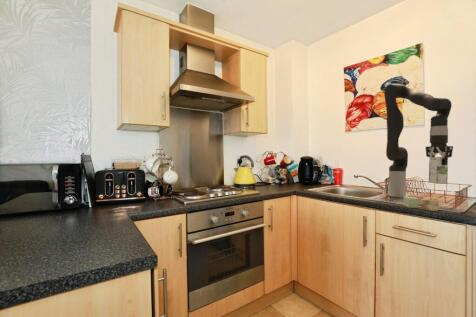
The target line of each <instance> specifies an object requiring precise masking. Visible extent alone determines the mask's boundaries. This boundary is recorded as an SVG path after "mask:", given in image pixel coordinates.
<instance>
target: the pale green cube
mask: <svg viewBox="0 0 476 317" xmlns="http://www.w3.org/2000/svg"><path fill="white" fill-rule="evenodd" d="M407 197H416V198H419V206H421V199H424V196H423V195H419V194H408V195H407Z"/></svg>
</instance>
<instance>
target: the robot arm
mask: <svg viewBox="0 0 476 317" xmlns="http://www.w3.org/2000/svg"><path fill="white" fill-rule="evenodd" d="M397 99H406V100H408V101H410V102H411V103H412V104H414V105H416V106H417V105H418V106H420V107H423V108H424V109H426V110H428V111H431V112H436V113H435V114H436V115H433V116H432V117H431V118H430V128H429V144H430V146H425V155H426V157H428V159H429V158H430V157H437V155H438V154H439V155H440V157H442V158H443V159H442V165H447V159H448V160H449V158H452V157H453V151H454V146H452V145H447V144H448V143H449V128H448V127H449V126H448V119H449V116H450V113H451V109H452V101H451V99H449V98H445V97H444V98H442V97H434V96H433V95H431V94H428V93H425V92H421V91H417V90H414V89H412V88H410V87H409V86H406V85H404V84H401V83H389V84H387V85H386V86H385V88H384V101H385V107H386V108H385V109H386V136H387V138H386V150H385V155H386V158H387V160H389V161H391V162H393V163H392V164H391V165H390V166H389V167H388V170H389V171H388V183H387V185H388V186H387V190H388V194H387V195H388V196H389V197H390V198H391V197H392V198H399V199H400V198H401V199H402V198H403V197H407V168H408V164H409V161H408V160H409V153H408V150H407V148H405V147H403V146H400V145H399V144H400V143H399V141H400V140H399V139H400V136H401V134H402V132H403V130H404V126H405V125H404V124H405V121H404V115H403V113H402V111H401V109H400V108H399V106H398V105H397Z"/></svg>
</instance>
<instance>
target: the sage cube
mask: <svg viewBox="0 0 476 317" xmlns="http://www.w3.org/2000/svg"><path fill="white" fill-rule="evenodd" d="M402 201H403V206H404V207H406V208H417V209H418V208H420V205H419V198H416V197H408V196H406V197H403V200H402Z"/></svg>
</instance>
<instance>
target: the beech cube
mask: <svg viewBox="0 0 476 317" xmlns="http://www.w3.org/2000/svg"><path fill="white" fill-rule="evenodd" d="M439 204H440V203H439V200H438V199H432V198H423V199H421V205H420V210H427V211H430V212H431V211H433V212H435V211H439V206H440V205H439Z"/></svg>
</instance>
